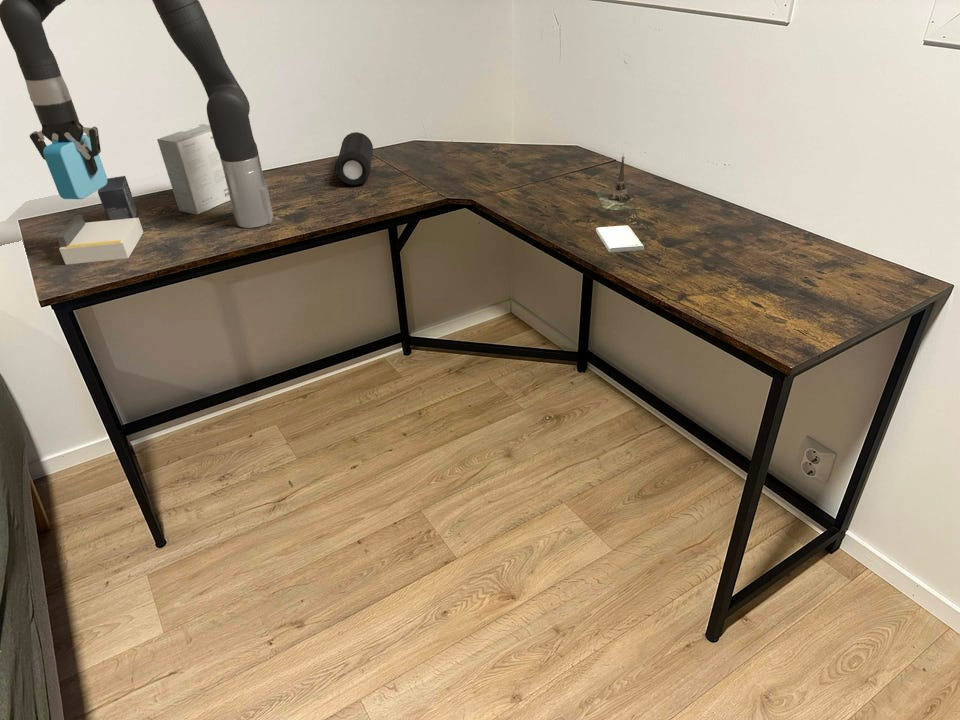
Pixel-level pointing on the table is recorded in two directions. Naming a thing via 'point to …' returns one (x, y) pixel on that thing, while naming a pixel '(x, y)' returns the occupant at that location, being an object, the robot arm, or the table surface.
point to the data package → (73, 170)
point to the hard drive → (619, 238)
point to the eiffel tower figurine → (617, 194)
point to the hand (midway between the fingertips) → (79, 175)
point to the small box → (117, 199)
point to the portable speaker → (355, 159)
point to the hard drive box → (194, 169)
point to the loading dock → (98, 240)
